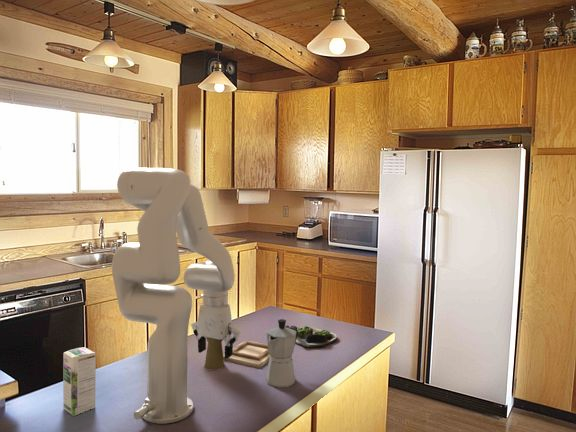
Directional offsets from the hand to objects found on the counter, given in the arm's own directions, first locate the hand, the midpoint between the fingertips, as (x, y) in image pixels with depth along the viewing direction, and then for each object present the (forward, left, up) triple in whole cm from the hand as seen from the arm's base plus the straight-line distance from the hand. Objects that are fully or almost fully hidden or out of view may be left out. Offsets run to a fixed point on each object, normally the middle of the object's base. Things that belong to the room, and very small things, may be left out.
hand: (215, 354), depth 140 cm
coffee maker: (+1, -23, -4) cm, 23 cm away
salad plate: (+36, -18, -4) cm, 40 cm away
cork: (0, 0, -4) cm, 4 cm away
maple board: (+13, -6, -4) cm, 15 cm away
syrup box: (-37, +15, -4) cm, 40 cm away
